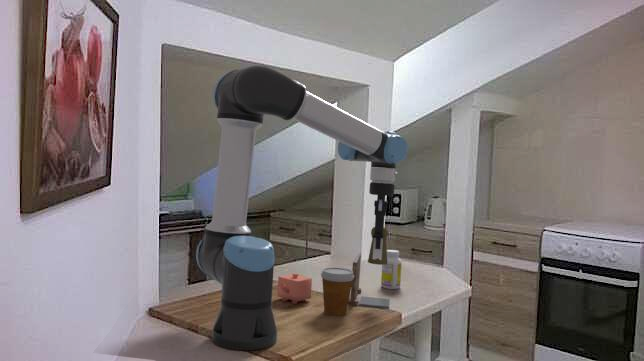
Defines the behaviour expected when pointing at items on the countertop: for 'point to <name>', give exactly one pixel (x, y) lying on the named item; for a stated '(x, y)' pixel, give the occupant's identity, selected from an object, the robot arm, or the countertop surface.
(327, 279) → the disposable coffee cup
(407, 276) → the countertop surface
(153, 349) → the countertop surface
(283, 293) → the pink cube teapot
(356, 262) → the screen
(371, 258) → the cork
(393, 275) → the supplement bottle
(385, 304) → the coaster
